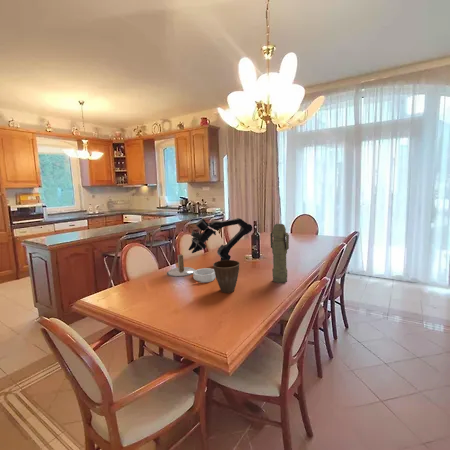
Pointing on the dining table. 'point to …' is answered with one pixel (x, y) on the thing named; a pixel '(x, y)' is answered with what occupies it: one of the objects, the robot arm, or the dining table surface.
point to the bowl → (204, 278)
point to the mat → (179, 276)
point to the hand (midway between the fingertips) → (190, 251)
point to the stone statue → (279, 252)
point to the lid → (181, 268)
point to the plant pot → (226, 274)
